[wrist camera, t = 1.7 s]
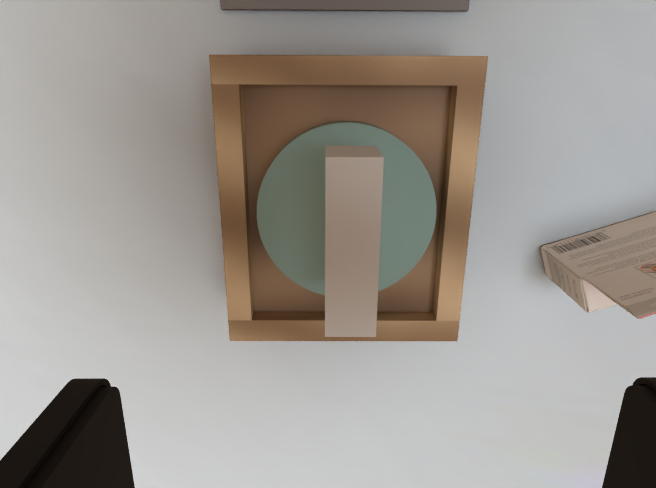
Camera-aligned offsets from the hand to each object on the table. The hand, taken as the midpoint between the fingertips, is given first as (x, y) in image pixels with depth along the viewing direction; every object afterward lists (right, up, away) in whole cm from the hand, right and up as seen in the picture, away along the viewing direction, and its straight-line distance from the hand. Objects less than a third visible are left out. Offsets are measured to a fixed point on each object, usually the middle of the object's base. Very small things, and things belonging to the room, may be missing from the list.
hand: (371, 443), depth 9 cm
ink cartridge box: (+18, +4, +21) cm, 28 cm away
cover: (0, +6, +15) cm, 16 cm away
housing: (0, +7, +19) cm, 21 cm away
